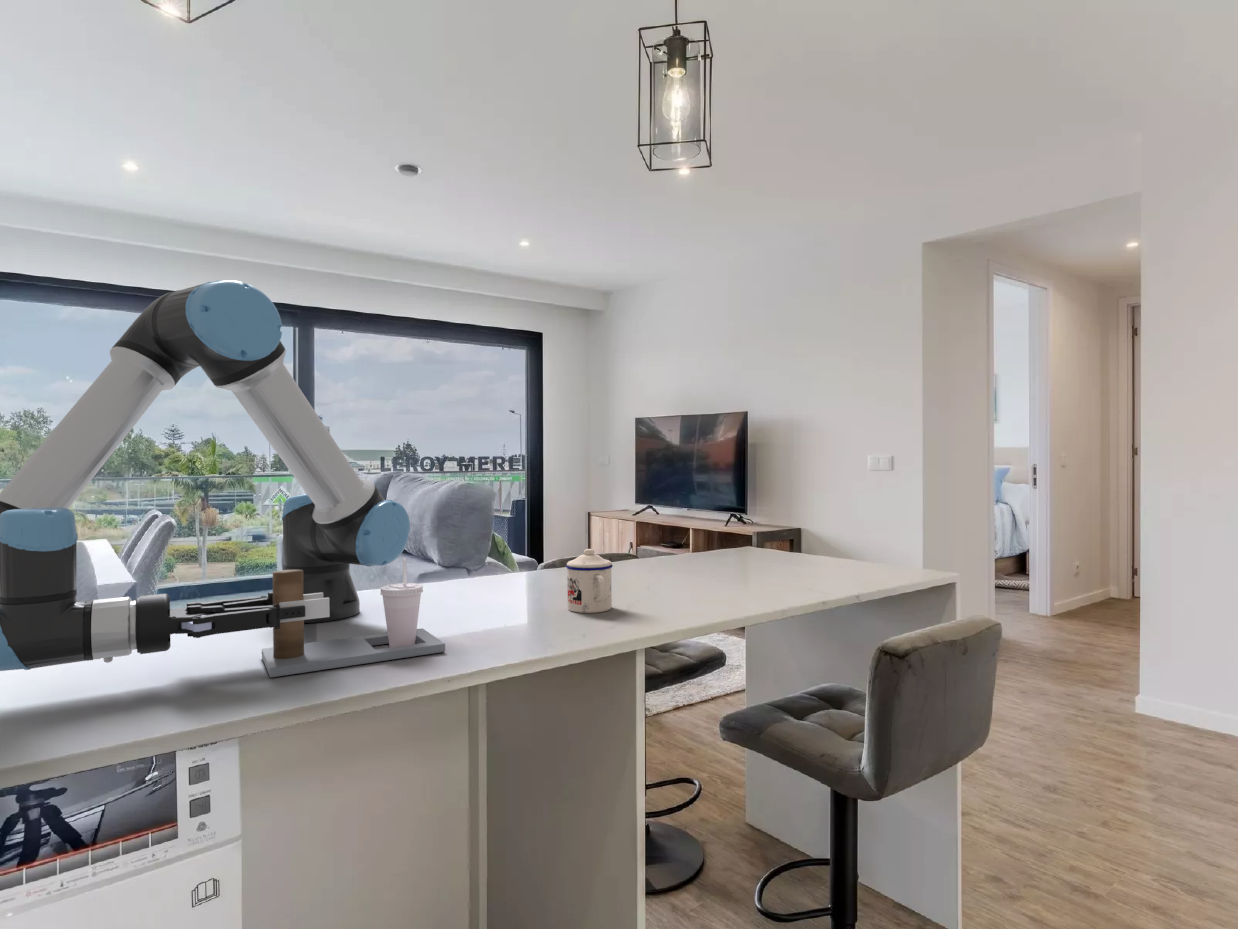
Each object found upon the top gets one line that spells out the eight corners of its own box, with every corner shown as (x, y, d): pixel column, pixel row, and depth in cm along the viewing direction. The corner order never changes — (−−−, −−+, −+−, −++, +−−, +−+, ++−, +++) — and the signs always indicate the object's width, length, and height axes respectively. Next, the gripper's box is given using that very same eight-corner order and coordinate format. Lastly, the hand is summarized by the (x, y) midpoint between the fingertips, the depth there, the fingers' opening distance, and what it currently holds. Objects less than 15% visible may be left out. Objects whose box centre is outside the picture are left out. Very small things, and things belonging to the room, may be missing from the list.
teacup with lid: (560, 606, 143) (559, 548, 143) (602, 602, 147) (602, 545, 147) (580, 618, 132) (580, 555, 132) (626, 614, 136) (625, 552, 136)
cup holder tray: (261, 656, 107) (260, 568, 107) (422, 635, 119) (421, 556, 119) (270, 677, 97) (269, 579, 96) (445, 651, 109) (444, 564, 109)
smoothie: (409, 655, 108) (408, 562, 108) (372, 652, 109) (371, 560, 109) (431, 644, 114) (430, 556, 114) (395, 642, 116) (394, 555, 116)
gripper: (137, 640, 101) (316, 619, 113) (132, 670, 86) (337, 642, 99) (136, 587, 101) (315, 571, 113) (131, 607, 86) (337, 587, 99)
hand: (325, 604), depth 106 cm, fingers closed on cup holder tray, 4 cm apart
